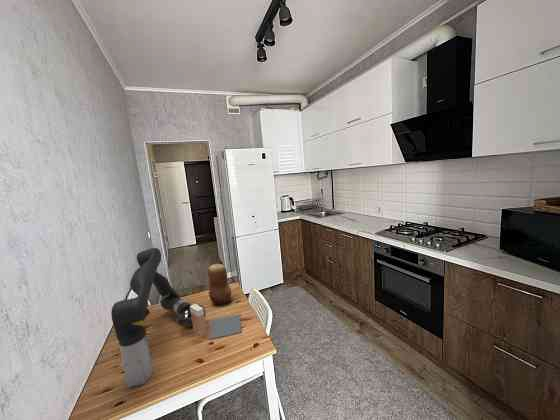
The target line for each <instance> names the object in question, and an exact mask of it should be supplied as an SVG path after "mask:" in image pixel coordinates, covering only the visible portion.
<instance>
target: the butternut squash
mask: <svg viewBox="0 0 560 420" xmlns="http://www.w3.org/2000/svg"><path fill="white" fill-rule="evenodd" d="M207 275H208V283H209V290H208V296H209V299H210V301H211V302H213V303H214V304H220V305H223V304H225V303H228V301H229V300H230V299H231V296H232V289H231V287H230V285H229V283H228V272H227V268H226V266H225V265H224V264H221V263H215V264H212V265H211V266H209V267H208V269H207Z"/></svg>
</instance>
